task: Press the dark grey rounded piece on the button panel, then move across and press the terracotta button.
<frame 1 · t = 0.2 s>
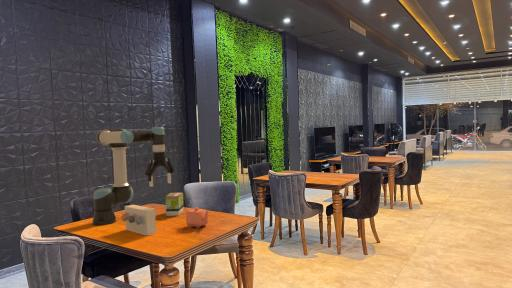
hand: (160, 184, 228), 28 cm above the table, tool pointing down, fingers open, 13 cm apart
teapot: (198, 226, 230), on the table
tea box: (175, 213, 269), on the table
button panel: (139, 231, 223), on the table
dark grey rounded piece: (139, 220, 214), point 9 cm above the table, slide at 0.0 cm
grey button: (131, 219, 219), point 9 cm above the table, slide at 0.0 cm
terracotta button: (124, 217, 224), point 9 cm above the table, slide at 0.0 cm
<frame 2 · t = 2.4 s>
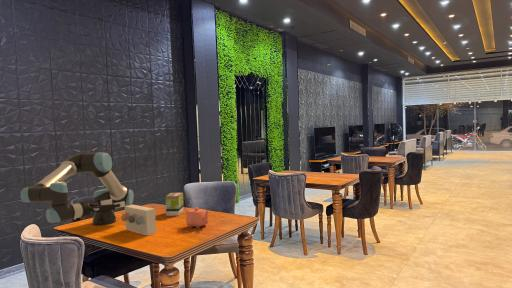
hand: (118, 202, 203), 22 cm above the table, tool horizontal, fingers open, 13 cm apart
nothing on the table moved.
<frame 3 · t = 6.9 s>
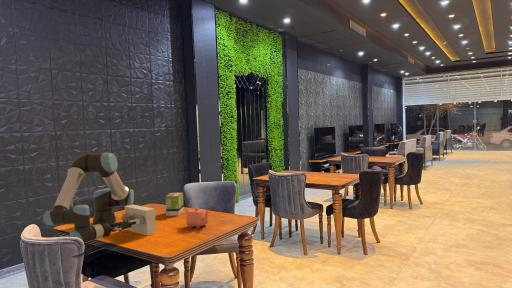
hand: (139, 221, 214), 9 cm above the table, tool horizontal, fingers closed
dark grey rounded piece: (140, 220, 215), point 9 cm above the table, slide at 1.3 cm, touching gripper
everything else where it was.
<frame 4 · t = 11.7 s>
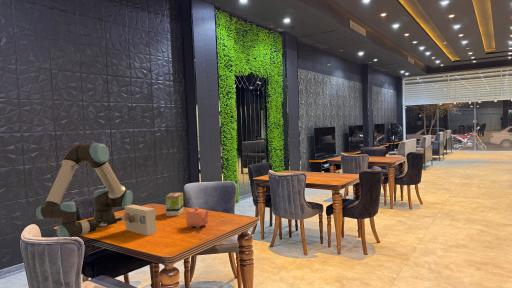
hand: (125, 217, 224), 9 cm above the table, tool horizontal, fingers closed
dark grey rounded piece: (142, 219, 216), point 9 cm above the table, slide at 2.6 cm
terracotta button: (126, 216, 225), point 9 cm above the table, slide at 1.3 cm, touching gripper
everything else where it was.
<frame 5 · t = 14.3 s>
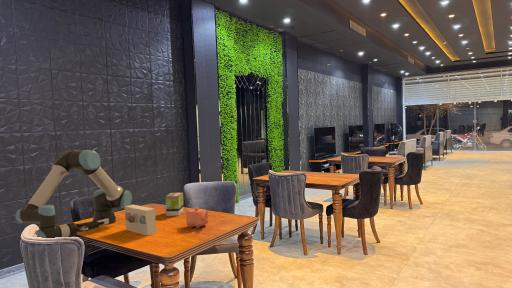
hand: (108, 221, 216), 9 cm above the table, tool horizontal, fingers closed
terracotta button: (128, 216, 226), point 9 cm above the table, slide at 2.6 cm
everything else where it was.
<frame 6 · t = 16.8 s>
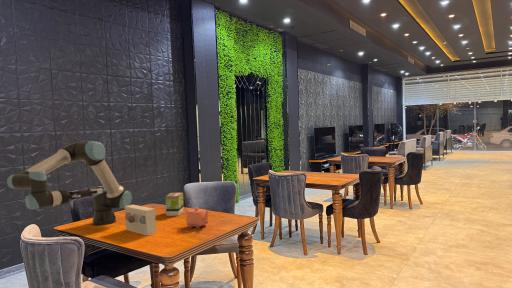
hand: (101, 190, 213), 28 cm above the table, tool horizontal, fingers closed
nothing on the table moved.
at the end: dark grey rounded piece slide at 2.6 cm; terracotta button slide at 2.6 cm; grey button slide at 0.0 cm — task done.
